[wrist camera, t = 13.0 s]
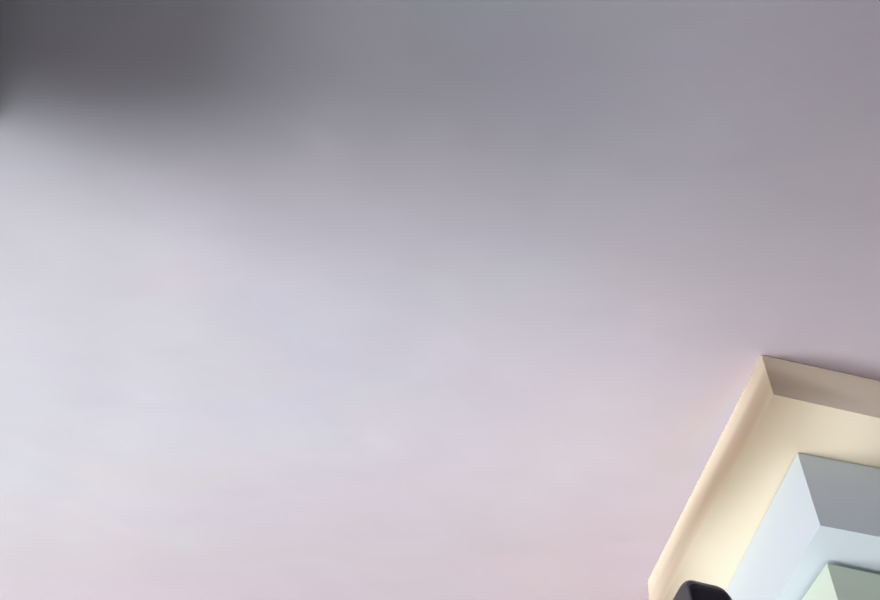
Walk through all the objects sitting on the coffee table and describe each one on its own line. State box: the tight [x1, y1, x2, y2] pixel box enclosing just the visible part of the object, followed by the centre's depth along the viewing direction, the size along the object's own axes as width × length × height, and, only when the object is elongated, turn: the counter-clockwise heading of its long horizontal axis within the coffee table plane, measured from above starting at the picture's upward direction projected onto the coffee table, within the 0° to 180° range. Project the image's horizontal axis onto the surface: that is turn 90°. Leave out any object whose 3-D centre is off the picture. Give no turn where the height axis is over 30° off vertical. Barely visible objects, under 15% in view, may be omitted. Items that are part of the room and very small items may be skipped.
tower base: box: [648, 355, 880, 600], centre depth 25 cm, size 10×10×2 cm
